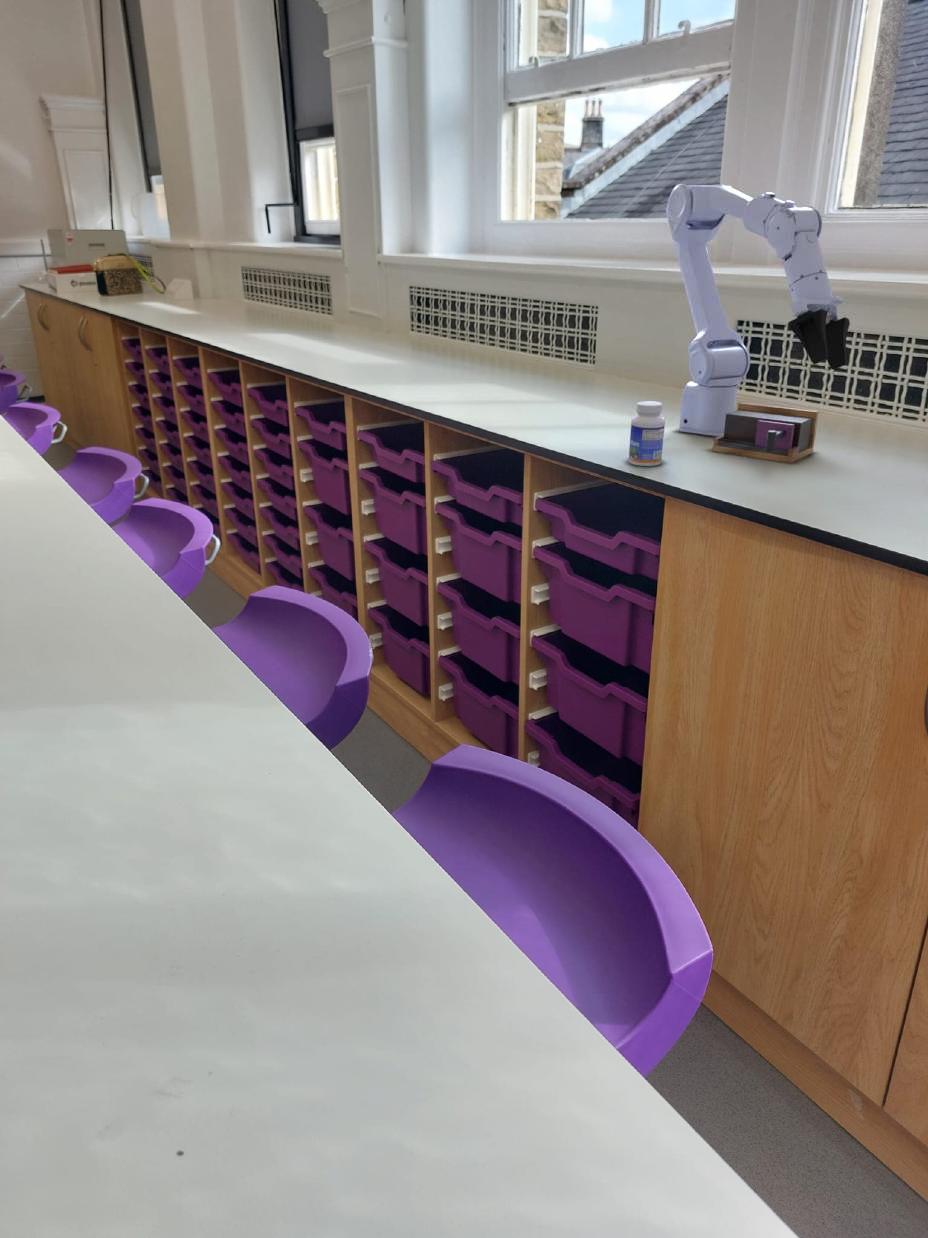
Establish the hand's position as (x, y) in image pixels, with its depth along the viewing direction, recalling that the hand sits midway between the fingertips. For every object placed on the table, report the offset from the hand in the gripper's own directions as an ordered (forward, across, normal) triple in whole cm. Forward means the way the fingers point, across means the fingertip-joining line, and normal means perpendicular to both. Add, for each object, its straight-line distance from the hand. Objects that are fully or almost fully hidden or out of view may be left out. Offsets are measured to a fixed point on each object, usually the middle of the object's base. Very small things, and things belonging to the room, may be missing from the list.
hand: (829, 364), depth 137 cm
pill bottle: (+7, -14, +28) cm, 32 cm away
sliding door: (+10, -1, +13) cm, 16 cm away
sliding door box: (+8, +5, +16) cm, 19 cm away
